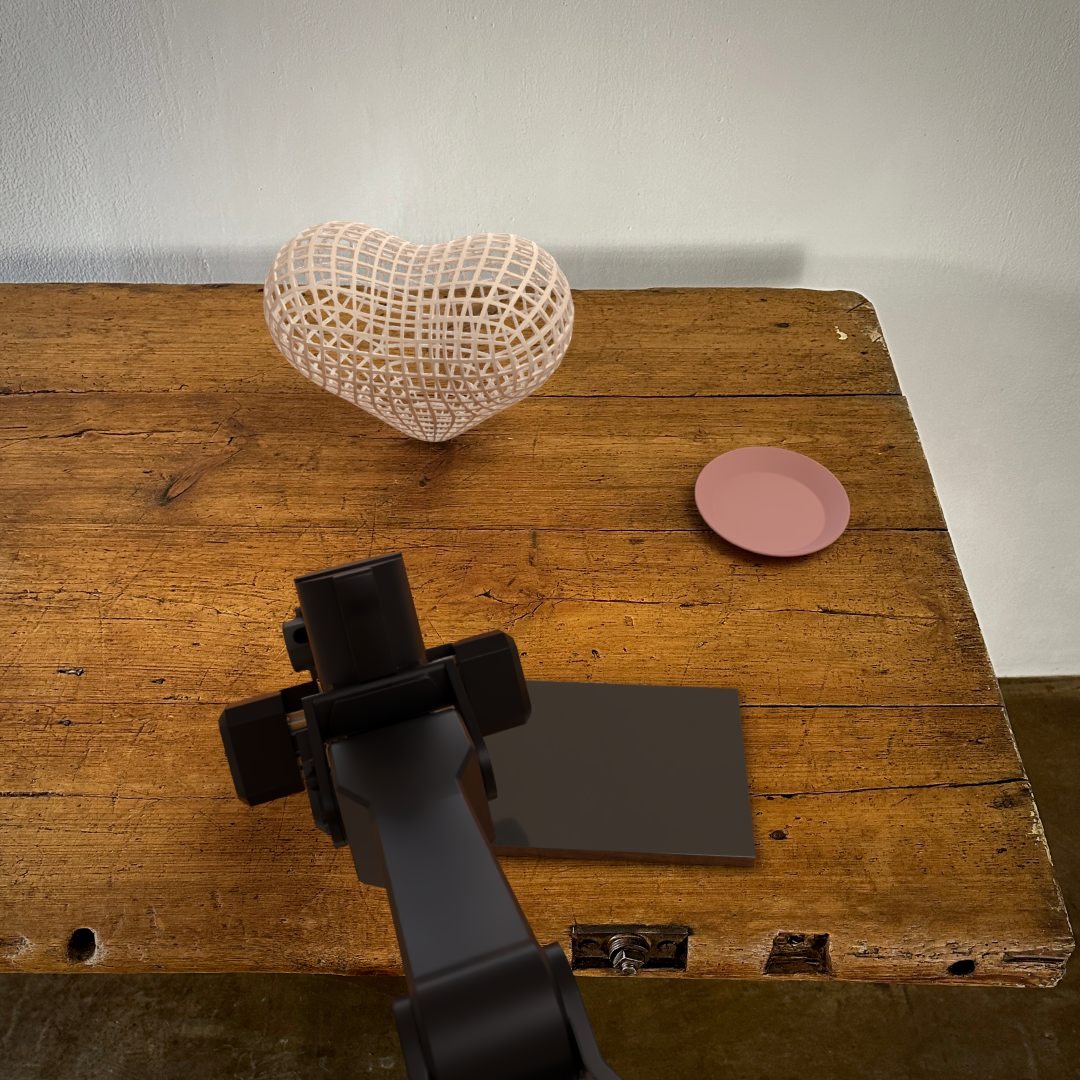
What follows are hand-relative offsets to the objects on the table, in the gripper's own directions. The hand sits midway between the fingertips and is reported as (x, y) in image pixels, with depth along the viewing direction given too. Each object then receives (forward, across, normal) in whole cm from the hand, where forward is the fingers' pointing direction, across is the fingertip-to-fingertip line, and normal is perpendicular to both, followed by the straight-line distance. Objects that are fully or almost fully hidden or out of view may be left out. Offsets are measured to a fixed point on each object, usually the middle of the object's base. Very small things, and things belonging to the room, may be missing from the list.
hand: (371, 692), depth 69 cm
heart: (+29, -13, -18) cm, 36 cm away
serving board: (0, -16, +11) cm, 19 cm away
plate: (+14, -40, -3) cm, 43 cm away
